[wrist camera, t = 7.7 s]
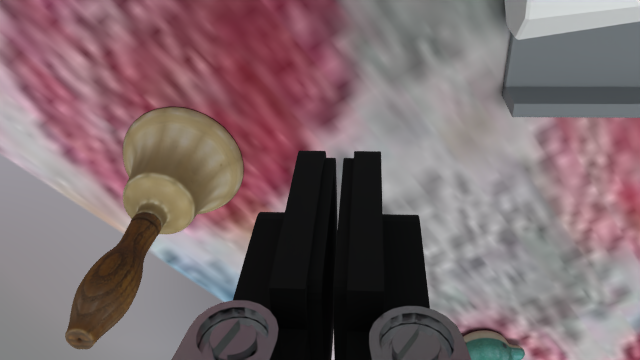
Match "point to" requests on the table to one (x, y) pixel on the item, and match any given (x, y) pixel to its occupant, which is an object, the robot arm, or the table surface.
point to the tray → (575, 74)
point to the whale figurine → (491, 347)
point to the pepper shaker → (566, 15)
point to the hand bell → (156, 207)
